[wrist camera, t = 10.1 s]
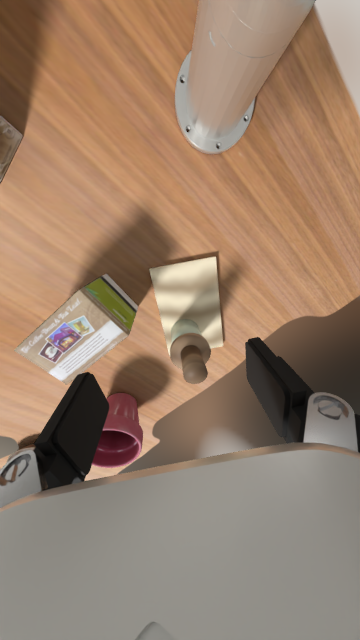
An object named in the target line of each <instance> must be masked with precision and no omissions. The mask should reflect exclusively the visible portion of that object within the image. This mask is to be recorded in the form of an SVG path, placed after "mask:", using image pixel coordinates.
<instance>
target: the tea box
mask: <svg viewBox="0 0 360 640" xmlns="http://www.w3.org/2000/svg"><path fill="white" fill-rule="evenodd" d="M137 309H138V306H137V305H136V303H135V302H134V301H133V300H132V299H131V298H130V297H129V296H128V295H127V294H126V293H125V292H124V291H123V290H122V289H121V288H120V287H119V286H118V285H117V284H116V283H115V282H114V281H113V280H112V279H111V278H110V277H109V276H108V275H107V274H104V275H102V276H101V277H99V278H97V279H96V280H94V281H93V282H91V283H89V284H88V285H86V286H84V287H82V288H81V289H79V290H78V291H77V292H76V293H75V294H74V295H72V296H71V297H70V298H69V299H68V300H67V301H66V302H65V303H64V304H63V305H62V306H61V307H60V308H58V309H57V310H56V311H55V312H54V313H53V314H52V315H51V316H50V317H49V318H48V319H47V320H45V321H44V322H43V323H42V324H41V325H40V326H39V327H38V328H37V329H36V330H35V331H34V332H33V333H32V334H30V335H29V336H28V337H27V338H26V339H25V340H24V341H23V342H22V343H21V344H20V345H19V346H18V347H17V348H16V349H15V350H14V351H16V352H17V353H19V354H20V355H22V356H23V357H25V358H27V359H28V360H30V361H31V362H33V363H34V364H36V365H37V366H39V367H40V368H42V369H43V370H45V371H47V372H48V373H50V374H51V375H53V376H54V377H56V378H57V379H59V380H60V381H62V382H63V383H65V385H67V384H68V383H70V382H71V381H72V380H74V379H75V378H76V376H77V375H78V374H81V373H83V372H84V371H85V370H86V369H87V368H89V367H90V366H91V365H93V364H94V363H95V362H96V361H97V360H99V359H100V358H101V357H102V356H104V355H105V354H106V353H108V352H109V351H110V350H112V349H113V348H114V347H115V346H116V345H118V344H119V343H120V342H121V341H123V340H124V339H125V338H126V337H128V336H129V333H130V331H131V328H132V324H133V322H134V318H135V316H136V312H137Z"/></svg>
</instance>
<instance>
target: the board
mask: <svg viewBox="0 0 360 640" xmlns="http://www.w3.org/2000/svg"><path fill="white" fill-rule="evenodd" d="M149 270H150V275H151V279H152V283H153V287H154V292H155V296H156V300H157V305H158V309H159V313H160V317H161V322H162V326H163V330H164V334H165V339H166V343H167V347H168V352H169V356H170V347H171V344H172V343H171V328H172V326H173V325H174V324H175V323H176V322H177V321H179V320H182V319H190V320H192V321H194V322H195V323H196V324H197V325H198V327H199V329H200V331H201V334H202V336H203V337H204V338H205V339H206V340H207V342H208V344H209V346H210V348H216V347H221V346H223V336H222V324H221V312H220V300H219V288H218V276H217V264H216V257H215V256H213V257H208V258H202V259H197V260H192V261H186V262H181V263H176V264H170V265H165V266H160V267H155V268H150V269H149Z"/></svg>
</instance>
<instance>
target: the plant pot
mask: <svg viewBox="0 0 360 640" xmlns="http://www.w3.org/2000/svg"><path fill="white" fill-rule="evenodd" d="M107 401H108V403H109V412H108V415H107V418H106V421H105V424H104V427H103V431H102V434H101V437H100V440H99V443H98V446H97V449H96V453H95V456H94V459H93V462H92V465H95V466H98V467H105V468H114V467H120V466H124V465H126V464H129V463H131V462H132V461H134V460H135V459H136V458H137V457H138V456H139V454H140V452H141V449H142V441H143V431H142V428H141V426H140V425H139V418H138V409H137V402H136V400H135V398H134V397H133V396H131V395H129V394H126V393H115V394H112V395H111V396H109V397H108V398H107Z"/></svg>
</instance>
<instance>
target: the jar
mask: <svg viewBox="0 0 360 640" xmlns="http://www.w3.org/2000/svg"><path fill="white" fill-rule="evenodd" d="M186 333H196V334H199V335H201V336H202V334H201V331H200V329H199V327H198V325H197V324H196V323H195V322H194V321H192V320H190V319H182V320H179V321H177V322H176V323H175V324H174V325H173V326H172V328H171V343H173V341H174V340H175V339H176V338H177V337H179V336H180V335H183V334H186Z"/></svg>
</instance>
